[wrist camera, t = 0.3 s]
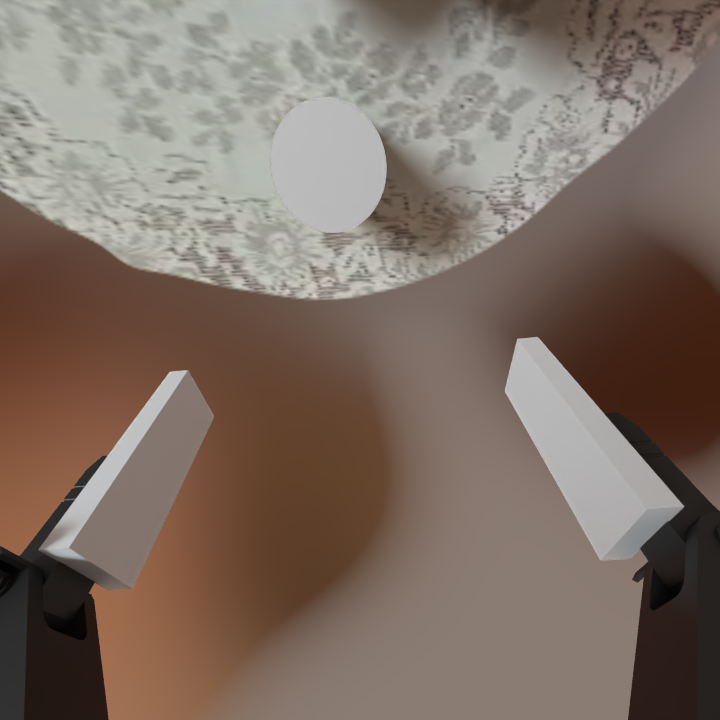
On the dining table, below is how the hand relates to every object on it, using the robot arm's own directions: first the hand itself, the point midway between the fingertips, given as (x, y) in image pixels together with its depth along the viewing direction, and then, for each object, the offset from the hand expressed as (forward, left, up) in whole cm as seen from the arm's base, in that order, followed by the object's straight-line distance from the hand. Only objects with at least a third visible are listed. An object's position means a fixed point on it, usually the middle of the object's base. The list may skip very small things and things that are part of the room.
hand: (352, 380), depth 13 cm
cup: (-6, -1, -28) cm, 29 cm away
